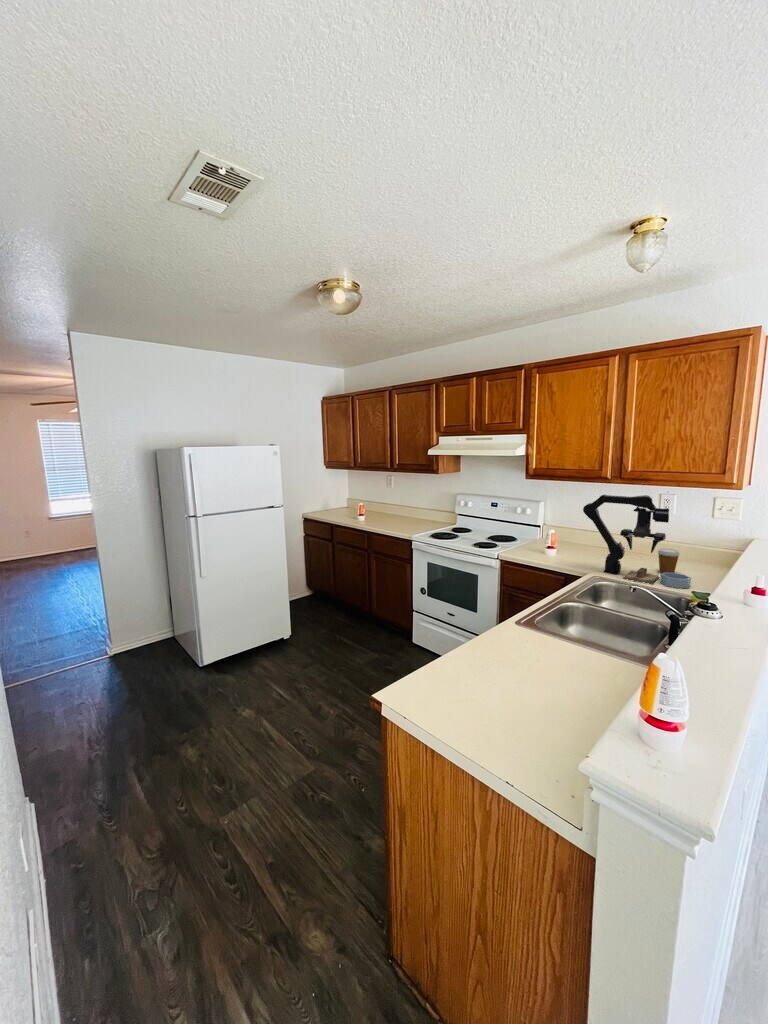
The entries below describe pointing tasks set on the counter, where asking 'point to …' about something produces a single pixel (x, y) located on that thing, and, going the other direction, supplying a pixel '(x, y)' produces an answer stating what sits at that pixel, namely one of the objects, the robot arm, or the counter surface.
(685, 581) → the bowl
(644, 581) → the mat
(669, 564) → the disposable coffee cup
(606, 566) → the robot arm
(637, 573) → the cover
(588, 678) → the counter surface
